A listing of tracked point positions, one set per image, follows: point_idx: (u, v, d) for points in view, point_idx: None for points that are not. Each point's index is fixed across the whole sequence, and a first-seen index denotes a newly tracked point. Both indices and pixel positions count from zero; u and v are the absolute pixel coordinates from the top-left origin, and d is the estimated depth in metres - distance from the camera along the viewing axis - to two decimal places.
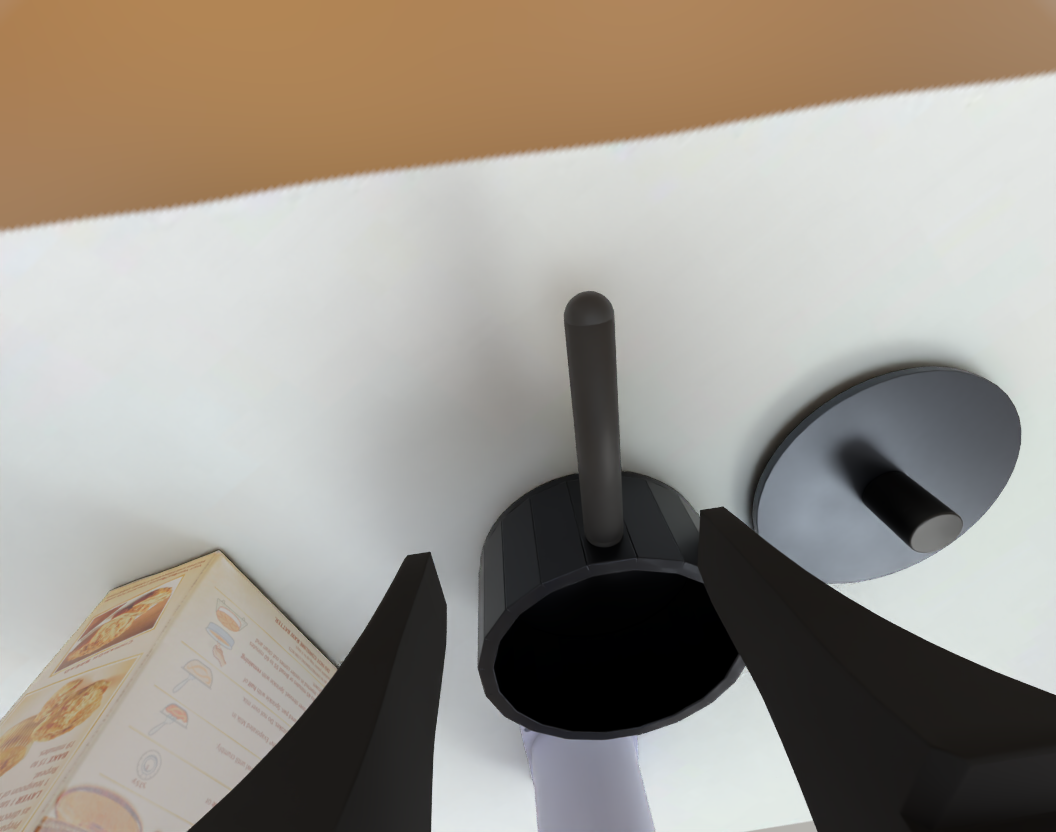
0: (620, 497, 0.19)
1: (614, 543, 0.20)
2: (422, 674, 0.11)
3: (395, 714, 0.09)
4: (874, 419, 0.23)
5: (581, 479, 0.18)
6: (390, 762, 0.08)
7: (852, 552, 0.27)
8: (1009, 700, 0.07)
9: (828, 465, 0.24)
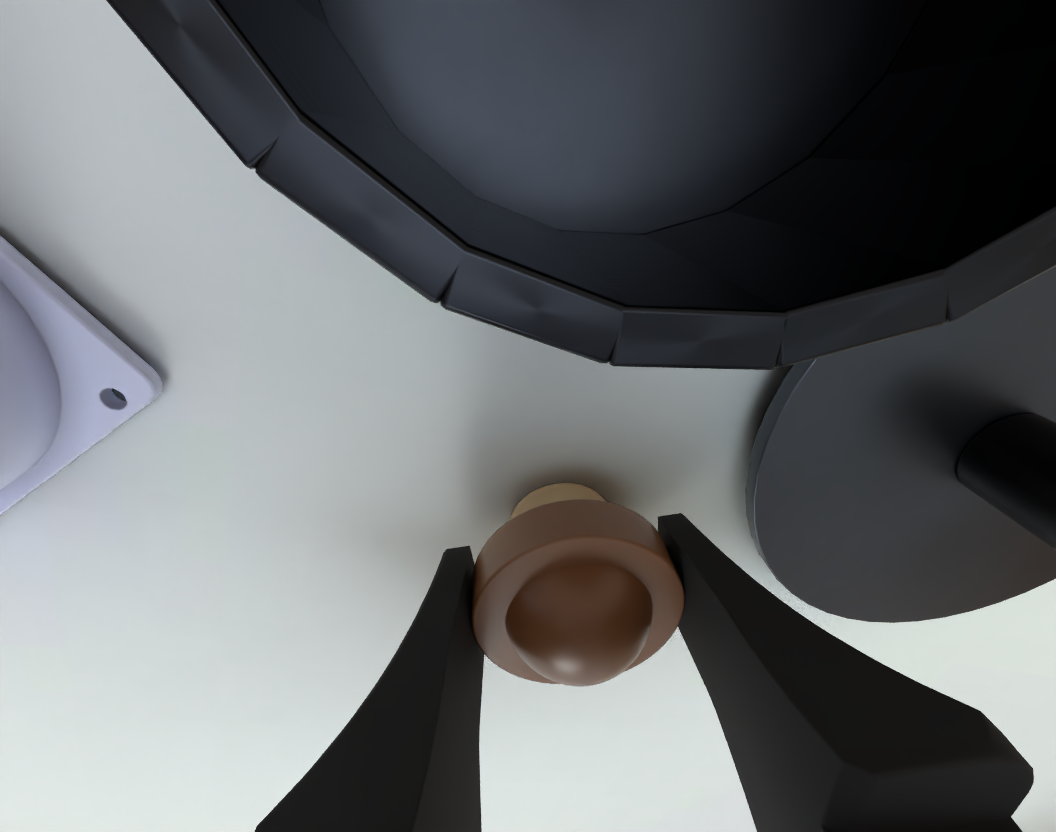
0: None
1: None
2: (468, 667, 0.11)
3: (451, 705, 0.09)
4: None
5: None
6: (450, 753, 0.08)
7: (842, 503, 0.13)
8: (928, 712, 0.07)
9: None
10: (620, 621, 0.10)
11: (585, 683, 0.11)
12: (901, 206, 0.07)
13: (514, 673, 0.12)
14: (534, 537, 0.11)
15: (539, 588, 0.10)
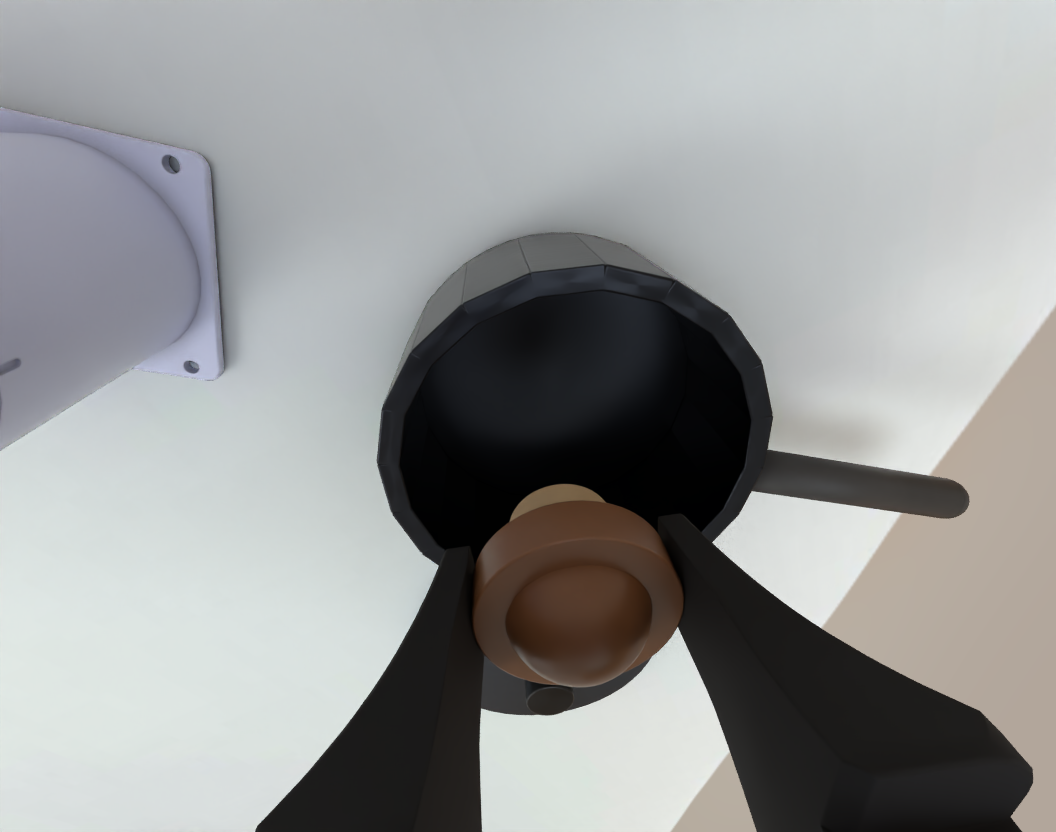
0: (783, 495, 0.18)
1: None
2: (469, 667, 0.11)
3: (452, 705, 0.09)
4: None
5: (821, 465, 0.18)
6: (451, 752, 0.08)
7: None
8: (928, 713, 0.07)
9: None
10: (620, 622, 0.10)
11: (585, 684, 0.11)
12: None
13: (514, 674, 0.12)
14: (534, 538, 0.11)
15: (539, 589, 0.11)
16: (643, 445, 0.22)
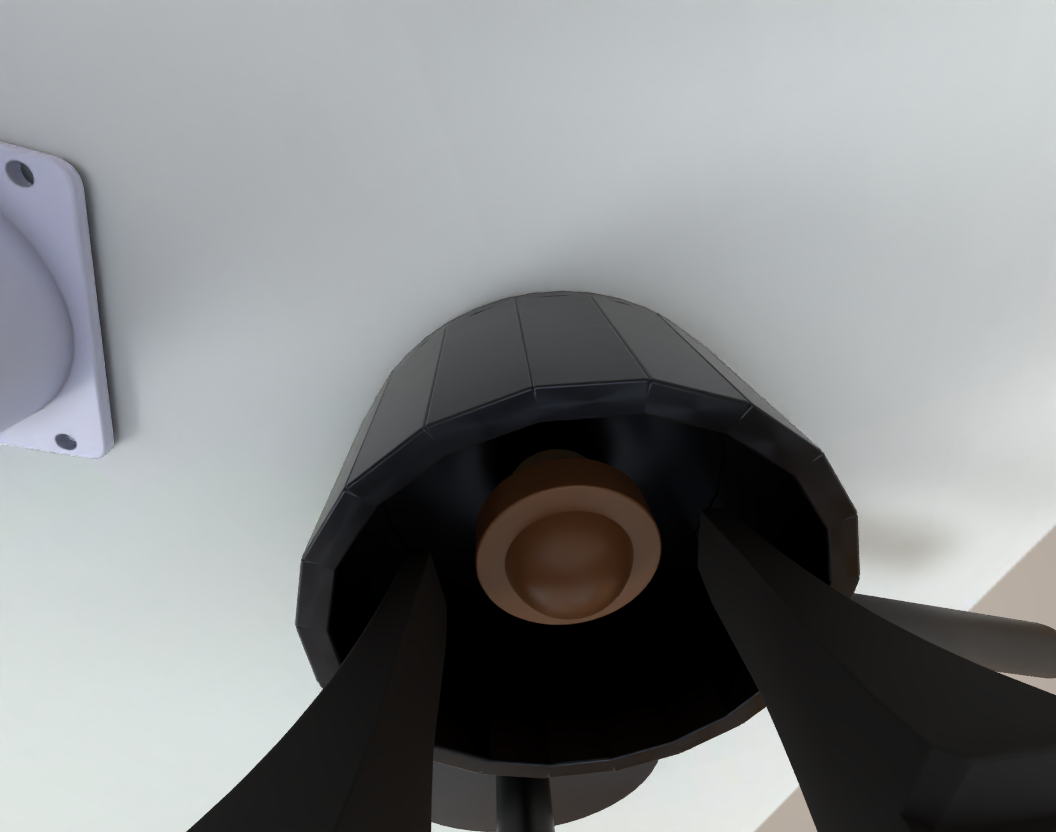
0: None
1: None
2: (422, 674, 0.11)
3: (395, 714, 0.09)
4: None
5: (899, 615, 0.14)
6: (390, 762, 0.08)
7: None
8: (1009, 699, 0.07)
9: None
10: (603, 559, 0.12)
11: (574, 614, 0.12)
12: (514, 701, 0.15)
13: (512, 613, 0.14)
14: (529, 487, 0.12)
15: (534, 531, 0.12)
16: None
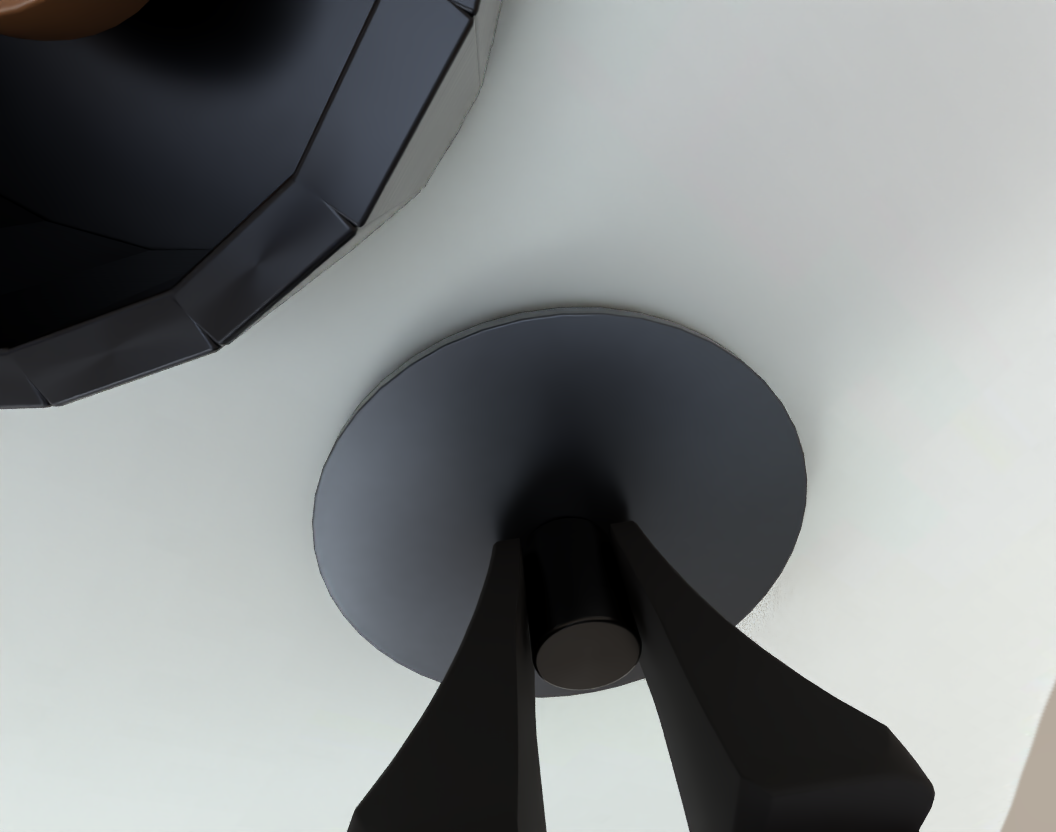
0: None
1: None
2: (526, 658, 0.11)
3: (521, 694, 0.09)
4: (719, 457, 0.12)
5: None
6: (525, 741, 0.08)
7: (412, 570, 0.13)
8: (834, 727, 0.07)
9: (616, 428, 0.12)
10: None
11: None
12: (175, 280, 0.06)
13: None
14: None
15: None
16: None
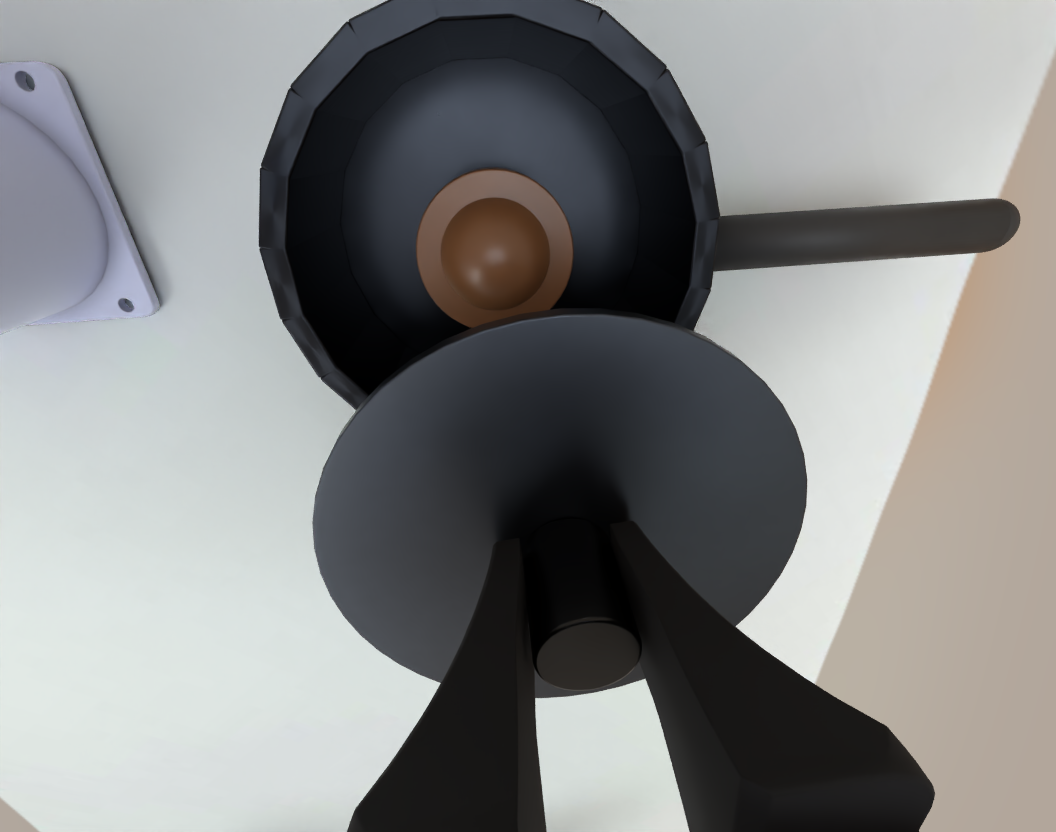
0: (768, 265, 0.15)
1: None
2: (526, 658, 0.11)
3: (521, 694, 0.09)
4: (720, 458, 0.12)
5: (805, 213, 0.15)
6: (525, 741, 0.08)
7: (412, 570, 0.13)
8: (835, 727, 0.07)
9: (617, 429, 0.12)
10: (507, 224, 0.14)
11: (502, 283, 0.15)
12: None
13: (472, 326, 0.17)
14: None
15: (450, 226, 0.15)
16: (612, 281, 0.20)
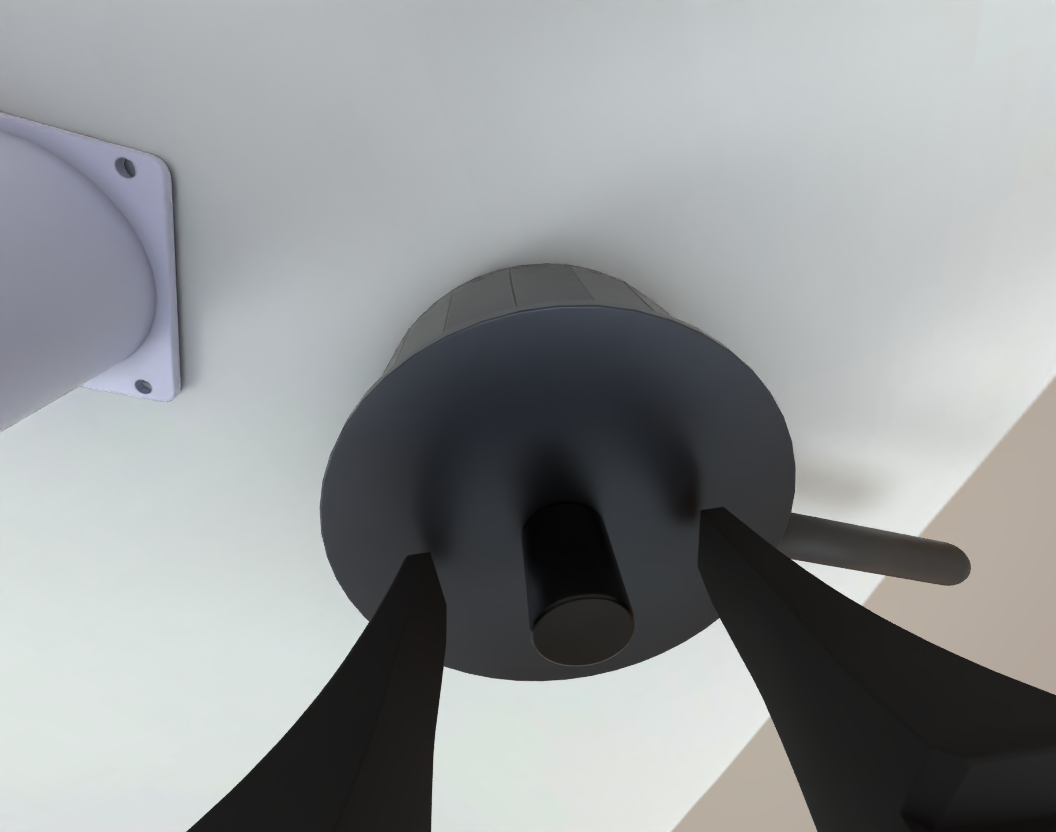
0: None
1: None
2: (422, 674, 0.11)
3: (395, 714, 0.09)
4: (711, 445, 0.13)
5: (820, 527, 0.17)
6: (390, 762, 0.08)
7: None
8: (1008, 699, 0.07)
9: (611, 416, 0.12)
10: None
11: None
12: None
13: None
14: None
15: None
16: None
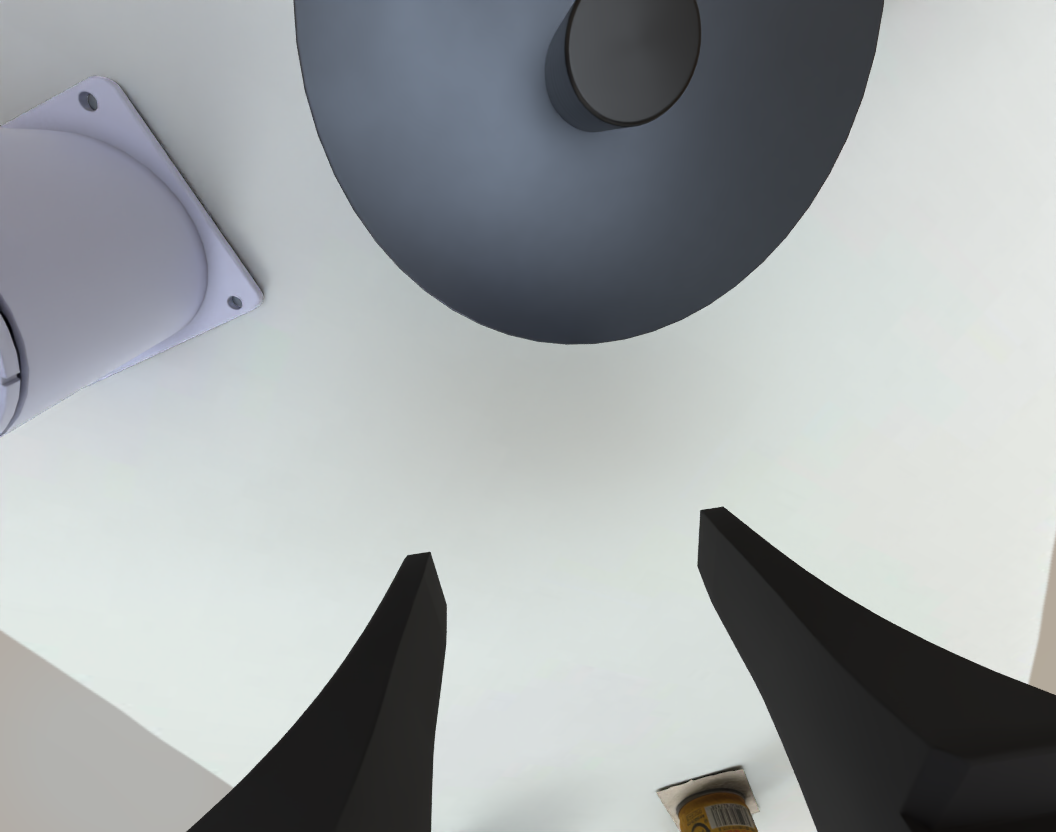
0: None
1: None
2: (422, 674, 0.11)
3: (395, 714, 0.09)
4: None
5: None
6: (390, 762, 0.08)
7: (470, 209, 0.12)
8: (1009, 700, 0.07)
9: None
10: None
11: None
12: None
13: None
14: None
15: None
16: None
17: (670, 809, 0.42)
